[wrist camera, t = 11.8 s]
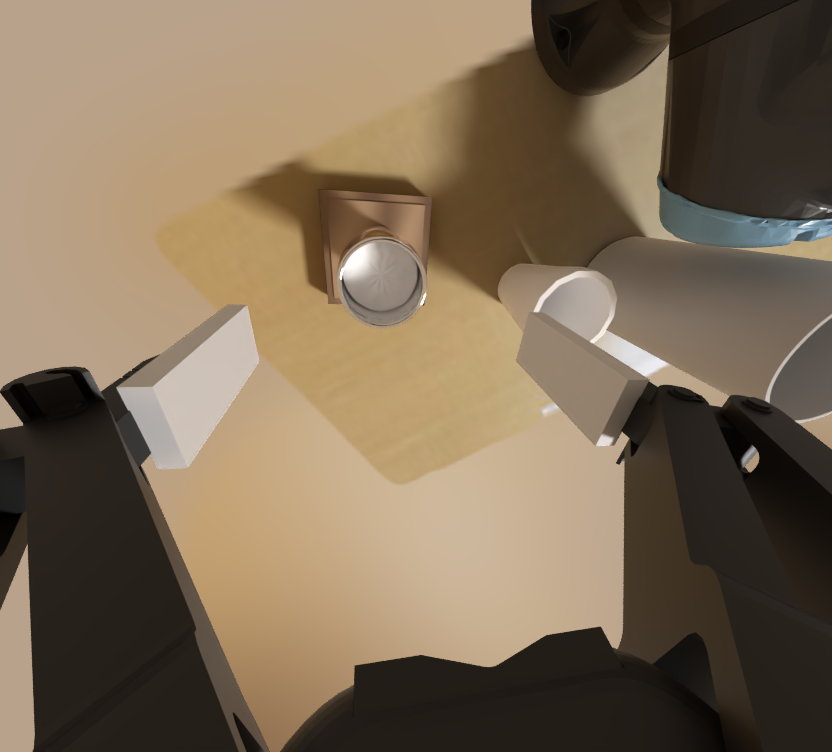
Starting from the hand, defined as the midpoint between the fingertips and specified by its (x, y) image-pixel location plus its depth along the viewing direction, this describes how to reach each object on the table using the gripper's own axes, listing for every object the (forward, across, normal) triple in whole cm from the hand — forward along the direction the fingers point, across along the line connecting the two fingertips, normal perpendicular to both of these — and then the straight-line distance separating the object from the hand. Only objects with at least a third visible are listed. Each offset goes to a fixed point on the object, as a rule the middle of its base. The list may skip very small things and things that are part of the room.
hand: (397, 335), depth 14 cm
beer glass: (+24, 0, 0) cm, 24 cm away
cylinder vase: (+27, +35, -2) cm, 44 cm away
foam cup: (+27, +20, -4) cm, 34 cm away
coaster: (+27, 0, 0) cm, 27 cm away
